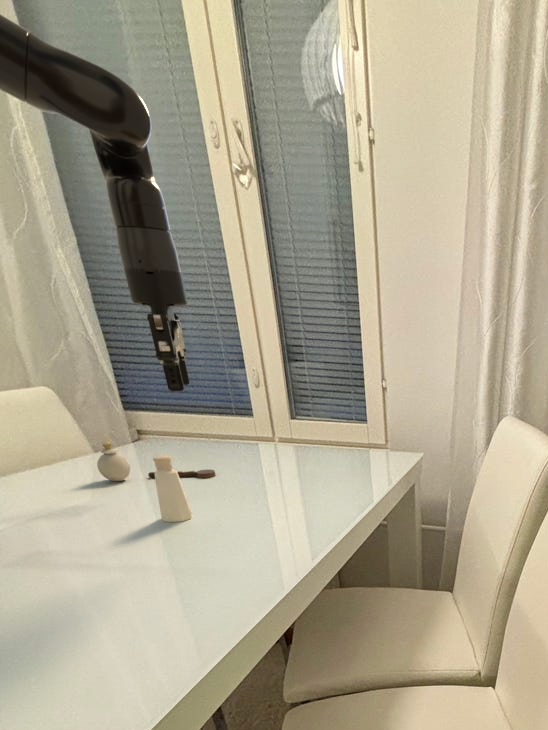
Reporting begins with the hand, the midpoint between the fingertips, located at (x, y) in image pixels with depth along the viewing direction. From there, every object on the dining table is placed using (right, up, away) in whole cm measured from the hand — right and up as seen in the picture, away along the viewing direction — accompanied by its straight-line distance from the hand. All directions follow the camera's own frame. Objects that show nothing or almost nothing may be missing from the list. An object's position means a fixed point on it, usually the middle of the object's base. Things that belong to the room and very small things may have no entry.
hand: (180, 387), depth 89 cm
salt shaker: (-7, -19, +12) cm, 24 cm away
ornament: (-32, -6, +33) cm, 47 cm away
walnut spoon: (-20, -3, +37) cm, 42 cm away
